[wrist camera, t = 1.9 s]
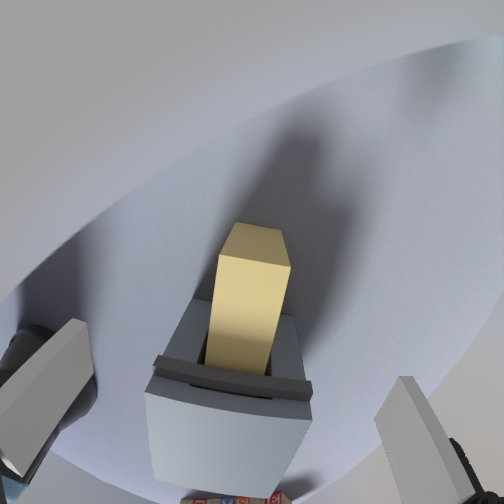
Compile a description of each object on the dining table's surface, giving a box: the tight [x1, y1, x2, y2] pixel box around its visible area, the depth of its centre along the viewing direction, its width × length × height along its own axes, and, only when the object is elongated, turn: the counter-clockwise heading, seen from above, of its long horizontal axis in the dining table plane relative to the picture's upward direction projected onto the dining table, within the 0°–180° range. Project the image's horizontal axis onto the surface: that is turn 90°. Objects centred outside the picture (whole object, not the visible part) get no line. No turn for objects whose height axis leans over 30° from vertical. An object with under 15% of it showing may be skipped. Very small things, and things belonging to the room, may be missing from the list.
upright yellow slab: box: [202, 222, 291, 398], centre depth 23 cm, size 4×14×10 cm, turn 170°
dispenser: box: [144, 298, 313, 499], centre depth 23 cm, size 10×13×14 cm
